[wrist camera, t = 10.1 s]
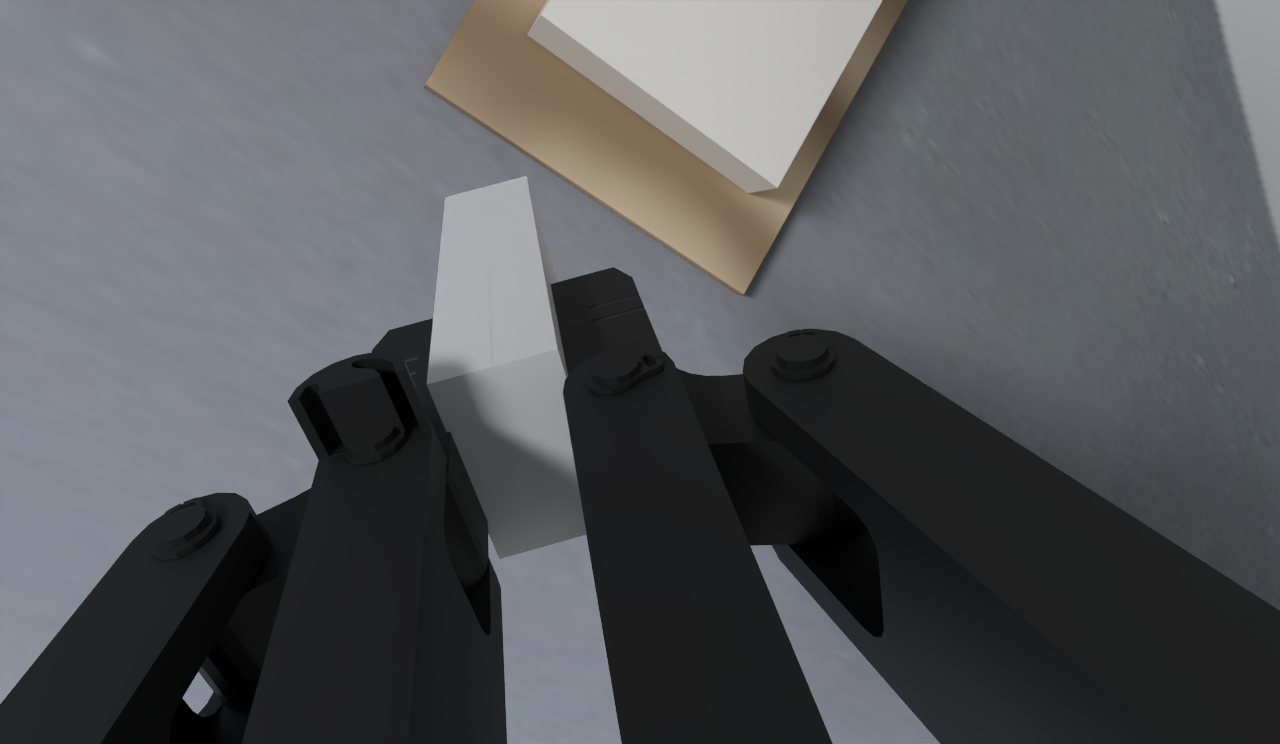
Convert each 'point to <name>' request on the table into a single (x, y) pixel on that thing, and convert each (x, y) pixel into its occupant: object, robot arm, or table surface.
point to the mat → (630, 139)
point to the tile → (714, 69)
